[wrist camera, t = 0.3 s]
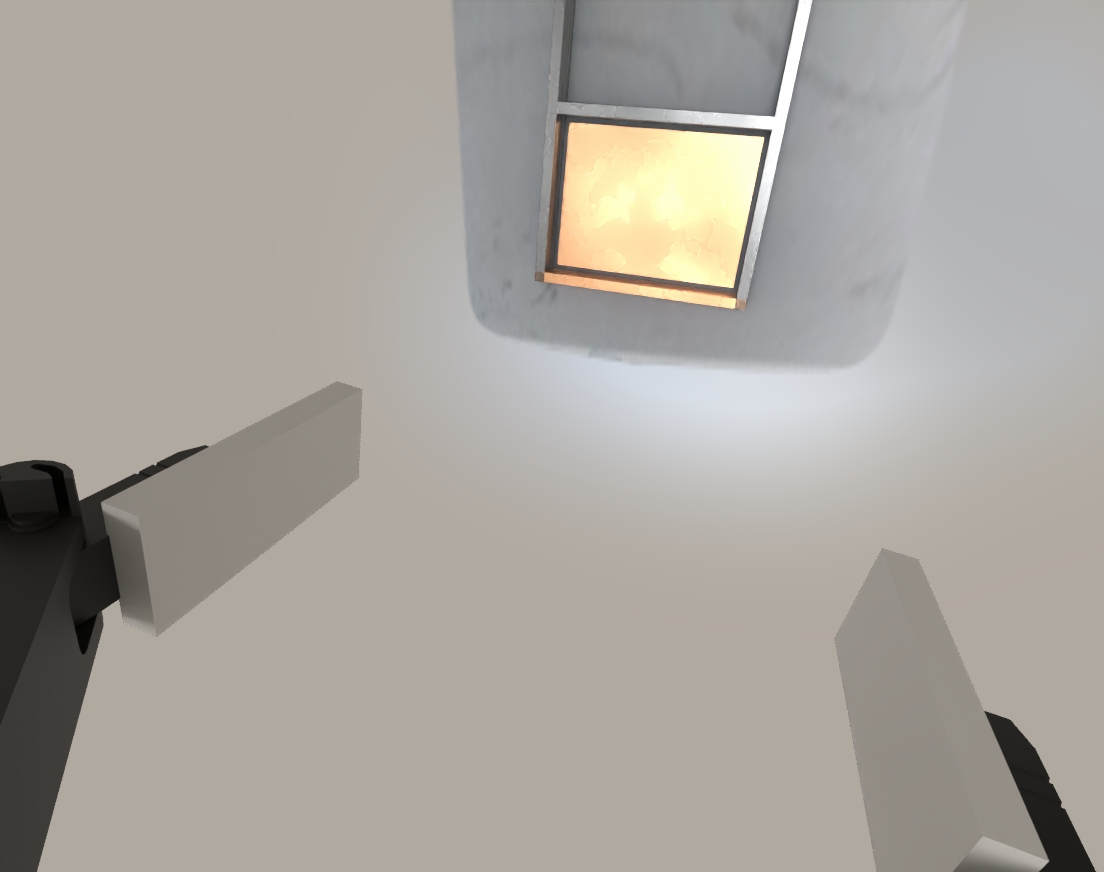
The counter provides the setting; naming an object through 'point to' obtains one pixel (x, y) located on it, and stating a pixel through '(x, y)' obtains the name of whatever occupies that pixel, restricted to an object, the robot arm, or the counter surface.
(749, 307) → the counter surface
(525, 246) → the counter surface
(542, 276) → the rack
